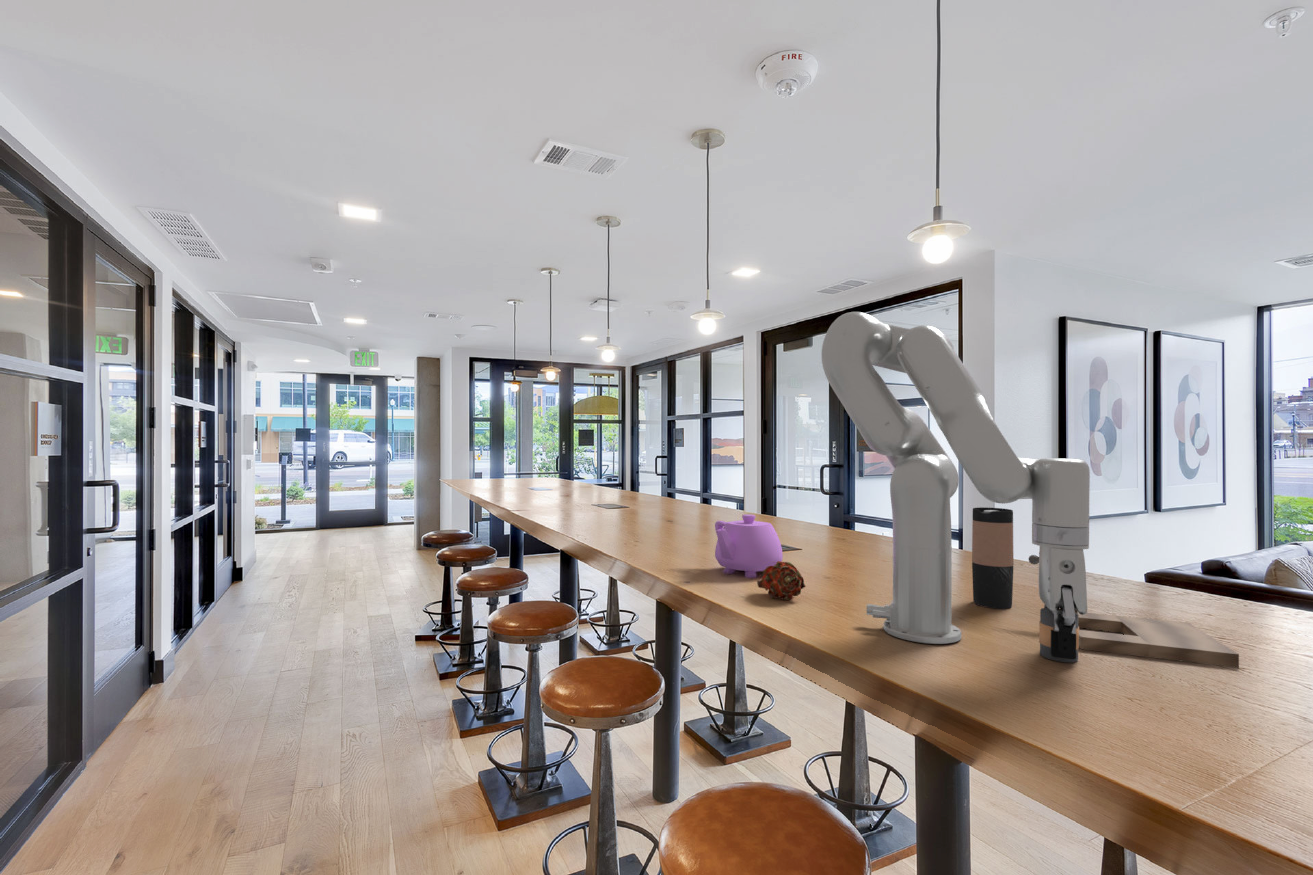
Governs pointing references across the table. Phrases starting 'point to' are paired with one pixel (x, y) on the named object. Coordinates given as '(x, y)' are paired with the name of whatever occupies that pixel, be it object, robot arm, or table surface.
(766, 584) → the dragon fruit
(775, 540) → the teapot
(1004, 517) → the travel mug
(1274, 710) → the table surface
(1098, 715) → the table surface
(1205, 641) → the grey frame with post
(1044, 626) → the coffee cup
